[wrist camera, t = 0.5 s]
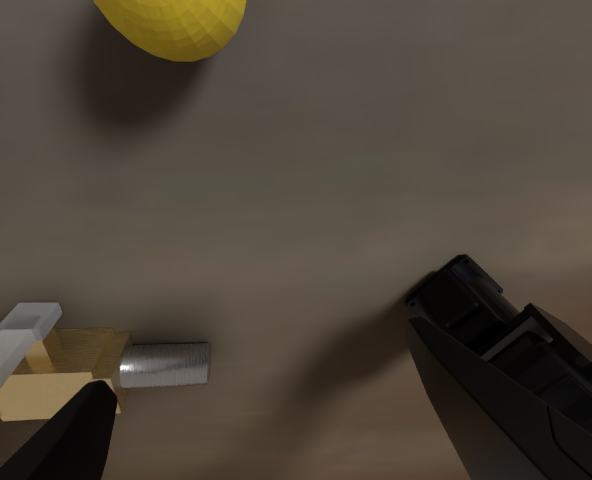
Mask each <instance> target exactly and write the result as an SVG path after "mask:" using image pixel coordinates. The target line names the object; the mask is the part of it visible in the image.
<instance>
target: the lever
mask: <svg viewBox="0 0 592 480" xmlns="http://www.w3.org/2000/svg"><path fill="white" fill-rule="evenodd" d="M62 314H63V313H62V310H61V307H60V305H59V303H18V304H17V305H16V306H15V308H14V309H13V310H12V311H11V312H10V313H9V314H8V315H7V316H6V317H5V318H4V319H3V321H2V322H1V323H0V389H1V387H2V386H3V385H4V383H5V382H6V381H7V379H8V378H9V377H10V375H11V374H12V372H13V371H14V370H15V368H16V367H17V366H18V364H19V363H20V362H21V360H22V359H23V358H24V356H25V355H26V354H27V352H28V351H29V350H30V348H31V347H32V345H33V344H34V343H35V341H36V340H44V339H45V337H46V336H47V334H48V333H49V332H50V330H51V329H52V327H53V326H54V325H55V323H56V322H57V320H58V319H59V318H60V316H61V315H62Z"/></svg>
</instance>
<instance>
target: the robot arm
mask: <svg viewBox="0 0 592 480" xmlns="http://www.w3.org/2000/svg"><path fill="white" fill-rule="evenodd" d="M464 260H465V261H464ZM502 292H503V289H502V288H501V287H500V286H499V285H498V284H497V283H496V282H495V281H494V280H493V279H492V278H491V277H490V276H489V275H488V274H487V273H486V272H485V271H484V270H483V269H482V268H481V267H480V266H479V265H477V264H476V263H475V262H474V261H473V260H472V259H471V258H470V257H469V256H468V255H466V254H463V255H461V256H459V257H458V258H457V259H456V260H454V261H453V262H452V263H451V264H449V265H448V266H447V267H446V268H444V269H443V270H442V271H441V272H439V273H438V274H437V275H436V276H435V277H433V278H432V279H431V280H430V281H428V282H427V283H426V284H425V285H423V286H422V287H421V288H420V289H418V290H417V291H416V292H415V293H413V294H412V295H411V296H410V297H409V298H407V299H406V301H405V304H406V306H407V307H408V308H409V309H410V310H412V311H413V312H415V313H416V314H417V315H419V316H414V317H409V318H407V320H406V341H407V344H408V347H409V350H410V352H411V355H412V357H413V360H414V362H415V365H416V368H417V370H418V373H419V375H420V378H421V380H422V383H423V385H424V388H425V390H426V393H427V395H428V397H429V399H430V401H431V403H432V405H433V407H434V409H435V411H436V413H437V415H438V417H439V419H440V421H441V423H442V425H443V426H444V428H445V430H446V432H447V434H448V436H449V438H450V440H451V442H452V444H453V446H454V448H455V450H456V451H457V453H458V455H459V457H460V459H461V461H462V463H463V465H464V467H465V469H466V471H467V473H468V475H469V476H470V478H471V480H592V344H590V343H589V342H588V341H587V340H585V339H584V338H583V337H582V336H580V335H579V334H578V333H577V332H576V331H574V330H573V329H572V328H571V327H569V326H568V325H567V324H566V323H564V322H562V321H561V320H559V319H557V318H556V317H554V316H552V315H551V314H549V313H547V312H546V311H544V310H542V309H541V308H539V307H537V306H536V305H534V304H532V303H529V304H528V305H527V306H525V307H524V310H523V311H522V312H521V313H520V312H519V311H518V310H517V309H516V308H515V307H514V306H512V305H511V304H510V303H509V302H508V301H507V300H506V299H505V298H504V297H503V296H502V295H501V294H502ZM117 403H118V400H117V396H116V394H115V393H114V391H113V390H112V389H111V388H110V386H109V385H108V384H107V383H106V382H105V381H104V380H97V381H92V382H89V383H87V384H85V385H84V386H83V387H82V388H81V389H80V390H79V391H78V392H77V393H76V394H75V395H74V396H73V397H72V398H71V399H70V400H69V401H68V402H67V403H66V404H65V405H64V406H63V407H62V408H61V409H60V410H59V411H58V412H57V413H56V414H55V415H54V416H53V417H52V418H50V419H49V420H48V421H47V422H46V423H45V424H44V425H43V426H42V427H41V428H40V429H39V430H38V431H37V432H36V433H35V434H34V435H33V436H32V437H31V438H30V439H29V440H28V441H27V442H26V443H25V444H24V445H23V446H22V447H21V448H20V449H19V450H18V451H17V452H16V453H15V454H14V455H13V456H12V457H11V458H10V459H9V460H8V461H7V462H6V463H4V464H3V465H2V466H1V467H0V480H101V477H102V474H103V471H104V467H105V463H106V459H107V455H108V450H109V445H110V440H111V435H112V430H113V425H114V419H115V414H116V409H117Z"/></svg>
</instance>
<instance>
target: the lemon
mask: <svg viewBox="0 0 592 480" xmlns="http://www.w3.org/2000/svg"><path fill="white" fill-rule="evenodd" d="M93 1H94V2H95V4H96V5H97V7H98V8H99V9H100V10H101V12H102V13H103V14H104V16H105V17H106V18H107V19H108V21H109V22H110V23H111V25H112V26H113V27H114V28H115V29H117V30H118V31H119V32H120V33H121V34H122V35H123V36H125V37H126V38H127V39H128V40H129V41H130V42H132V43H133V44H134V45H136V46H138V47H140V48H141V49H143V50H145V51H147V52H149V53H150V54H152V55H154V56H157V57H161V58H164V59H168V60H171V61H182V62H193V61H197V60H200V59H204V58H207V57H210V56H211V55H213V54H215V53H216V52H218V51H219V50H221V49H222V48H224V47H225V45H226V44H227V43H228V42H229V41H230V40H231V38H232V37H233V36H234V35H235V33H236V31H237V29H238V27H239V25H240V22H241V20H242V18H243V15H244V10H245V5H246V0H93Z"/></svg>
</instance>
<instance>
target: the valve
mask: <svg viewBox="0 0 592 480" xmlns="http://www.w3.org/2000/svg"><path fill="white" fill-rule="evenodd" d="M210 365H211V344H210V343H195V344H153V345H133V343H132V338H131V334H130V332H115V333H114V330H113V328H86V329H55V328H54V326H53V327H52V329H51V330H50V332H49V333H48V334H47V336H46V337H45V339H44V340H36V341H35V343H34V344H33V345H32V347H31V348H30V350H29V351H28V352H27V354H26V355H25V356H24V358H23V359H22V360H21V362H20V363H19V364H18V366H17V367H16V368H15V370H14V371H13V372H12V374H11V375H10V377H9V378H8V379H7V381H6V382H5V383H4V385H3V386H2V387H1V389H0V418H1V419H2V421H16V420H33V419H50V418H52V417H53V416H54V415H55V414H56V413H57V412H58V411H59V410H60V409H61V408H62V407H63V406H64V405H65V404H66V403H67V402H68V401H69V400H70V399H71V398H72V397H73V396H74V395H75V394H76V393H77V392H78V391H79V390H80V389H81V388H82V387H83V386H84V385H85V384H87V383H89V382H92V381H97V380H104V381H105V382H106V383H107V384H108V385H109V386H110V388H111V389H112V390H113V391H114V393H115V394H116V396H117V400H118V403H117V409H116V413H121V411H122V409H123V406H124V403H125V400H126V397H127V395H128V392H129V389H130V388H138V387H160V386H183V385H205V384H208V382H209V375H210Z"/></svg>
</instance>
